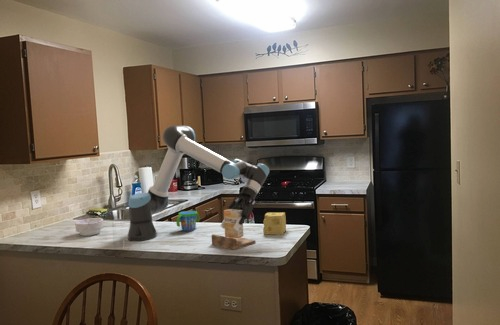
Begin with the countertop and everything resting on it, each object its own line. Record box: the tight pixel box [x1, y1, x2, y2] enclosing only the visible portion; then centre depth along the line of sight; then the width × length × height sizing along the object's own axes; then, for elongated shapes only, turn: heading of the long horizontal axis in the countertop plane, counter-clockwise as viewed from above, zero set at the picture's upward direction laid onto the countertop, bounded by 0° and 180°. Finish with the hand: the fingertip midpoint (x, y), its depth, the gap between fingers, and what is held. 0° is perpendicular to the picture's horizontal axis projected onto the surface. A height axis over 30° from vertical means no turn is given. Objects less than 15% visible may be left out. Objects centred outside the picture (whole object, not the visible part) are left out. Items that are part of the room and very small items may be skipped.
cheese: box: [262, 212, 287, 236], centre depth 211 cm, size 10×11×10 cm
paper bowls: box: [74, 217, 105, 237], centre depth 232 cm, size 15×15×8 cm
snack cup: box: [175, 210, 201, 232], centre depth 228 cm, size 16×10×10 cm
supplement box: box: [223, 208, 244, 238], centre depth 193 cm, size 8×5×13 cm, turn 56°
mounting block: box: [211, 233, 256, 251], centre depth 193 cm, size 16×14×5 cm
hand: (228, 228), depth 191 cm, fingers closed on supplement box, 9 cm apart
